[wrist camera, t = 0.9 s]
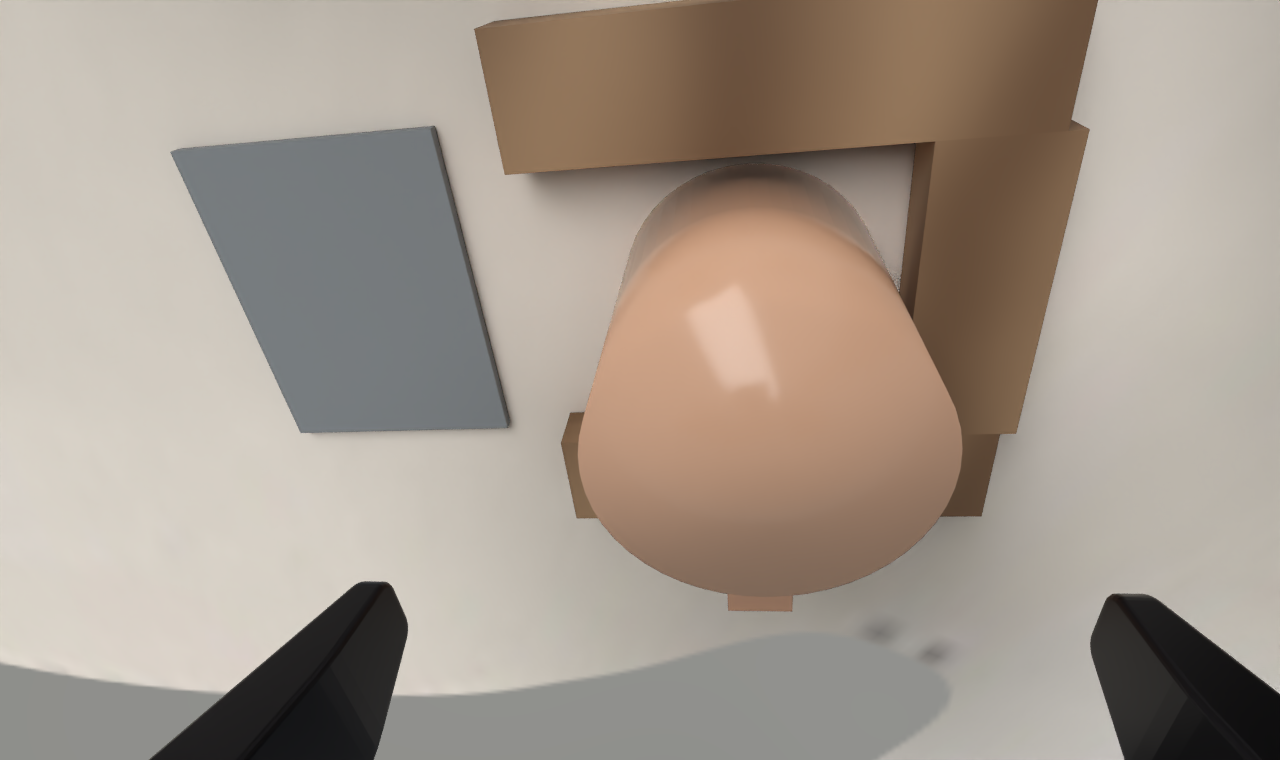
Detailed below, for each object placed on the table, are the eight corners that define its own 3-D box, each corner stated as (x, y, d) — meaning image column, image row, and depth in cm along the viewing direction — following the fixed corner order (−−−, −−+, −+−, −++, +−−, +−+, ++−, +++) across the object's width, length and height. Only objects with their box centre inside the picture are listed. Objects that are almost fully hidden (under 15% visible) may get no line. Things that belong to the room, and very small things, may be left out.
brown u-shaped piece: (1093, -45, 14) (1131, -43, 12) (979, 481, 21) (996, 516, 20) (494, 21, 15) (474, 29, 14) (584, 486, 23) (576, 518, 21)
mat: (434, 126, 17) (429, 128, 16) (510, 422, 22) (507, 428, 21) (177, 148, 18) (170, 151, 17) (305, 427, 22) (300, 432, 22)
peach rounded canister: (611, 173, 17) (548, 314, 11) (887, 152, 16) (994, 292, 10) (649, 474, 22) (621, 686, 16) (859, 471, 21) (917, 695, 15)
